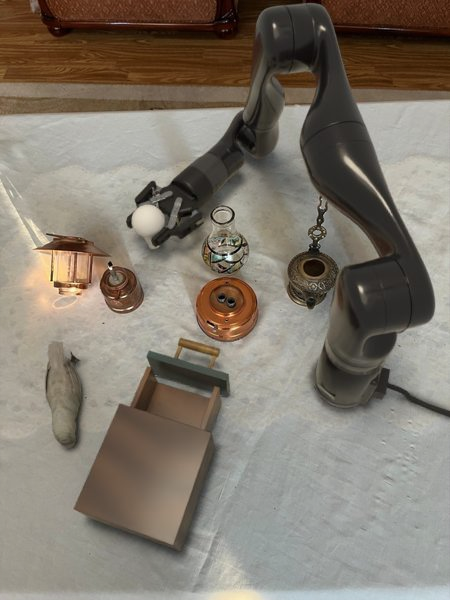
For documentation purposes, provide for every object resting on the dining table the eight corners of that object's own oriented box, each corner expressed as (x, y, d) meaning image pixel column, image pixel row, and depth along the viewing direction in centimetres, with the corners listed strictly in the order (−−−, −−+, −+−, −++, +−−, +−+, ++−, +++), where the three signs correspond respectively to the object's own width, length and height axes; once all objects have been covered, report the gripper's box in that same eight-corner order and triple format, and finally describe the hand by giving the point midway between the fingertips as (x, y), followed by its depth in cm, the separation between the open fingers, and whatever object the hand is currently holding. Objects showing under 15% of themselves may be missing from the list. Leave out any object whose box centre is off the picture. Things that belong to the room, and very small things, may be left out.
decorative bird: (55, 452, 84) (39, 439, 78) (52, 361, 92) (37, 343, 86) (88, 445, 85) (75, 432, 78) (82, 356, 93) (70, 337, 86)
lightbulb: (166, 261, 102) (157, 226, 93) (136, 256, 103) (124, 221, 93) (173, 236, 105) (165, 199, 96) (144, 232, 106) (133, 195, 96)
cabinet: (131, 422, 86) (119, 403, 78) (215, 449, 84) (212, 432, 75) (91, 518, 79) (73, 509, 71) (181, 551, 77) (173, 545, 68)
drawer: (166, 343, 92) (160, 323, 86) (239, 364, 90) (238, 345, 83) (122, 449, 83) (111, 436, 77) (201, 476, 81) (197, 465, 74)
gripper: (171, 150, 103) (109, 202, 97) (227, 185, 98) (165, 242, 92) (176, 177, 109) (118, 227, 103) (229, 211, 104) (170, 265, 98)
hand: (140, 234), depth 98 cm, fingers closed on lightbulb, 6 cm apart
